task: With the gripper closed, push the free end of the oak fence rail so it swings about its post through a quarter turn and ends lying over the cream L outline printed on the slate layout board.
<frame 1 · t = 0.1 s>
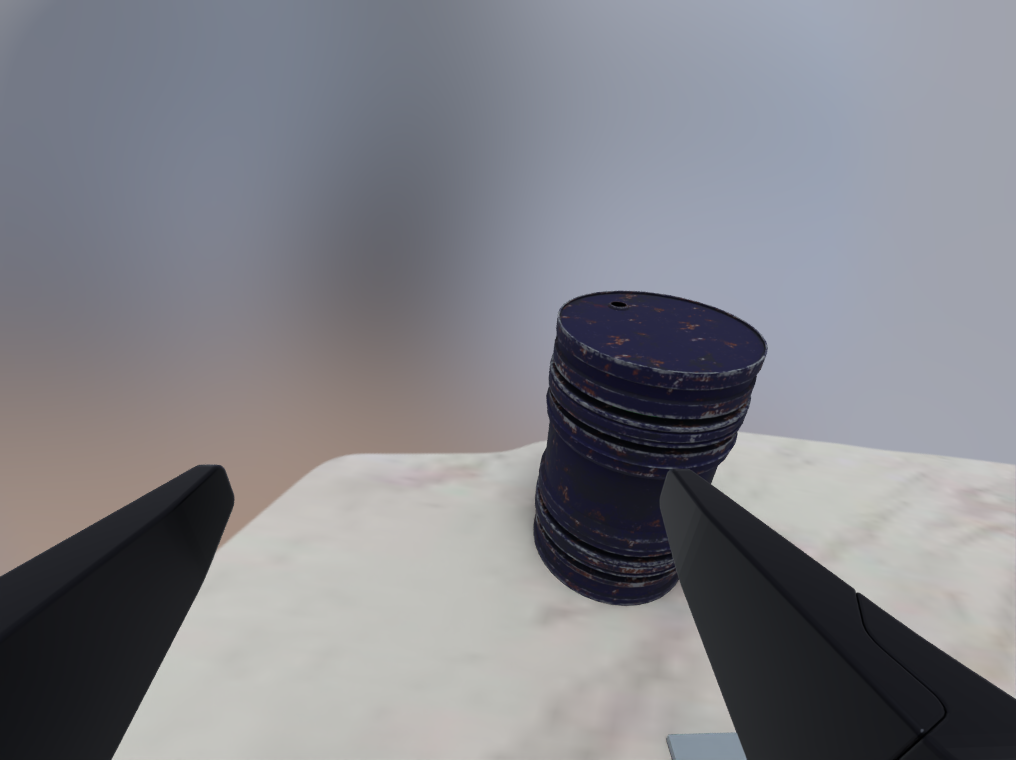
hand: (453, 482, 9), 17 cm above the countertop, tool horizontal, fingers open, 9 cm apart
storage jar: (606, 538, 29), on the countertop
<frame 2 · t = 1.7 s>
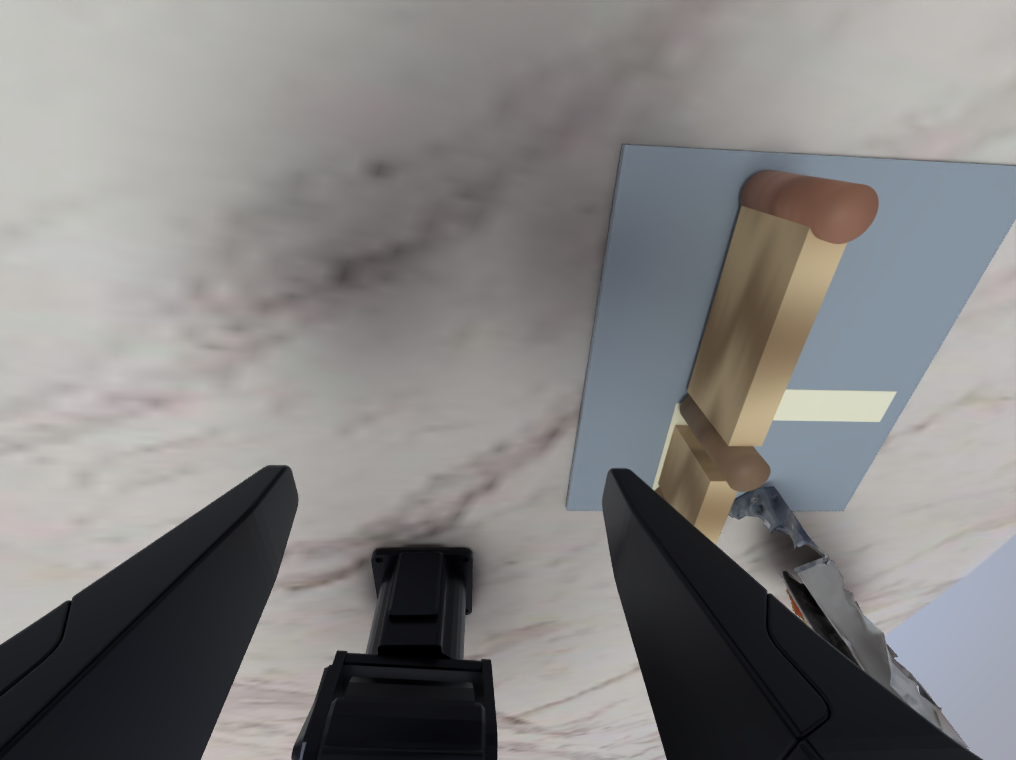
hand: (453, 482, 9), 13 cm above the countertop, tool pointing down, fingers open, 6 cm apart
layout board: (756, 368, 23), on the countertop
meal: (783, 550, 31), on the countertop, touching layout board
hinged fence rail: (755, 337, 19), point 3 cm above the countertop, hinge at 0.0°
fixed fence rail: (663, 504, 28), resting on layout board
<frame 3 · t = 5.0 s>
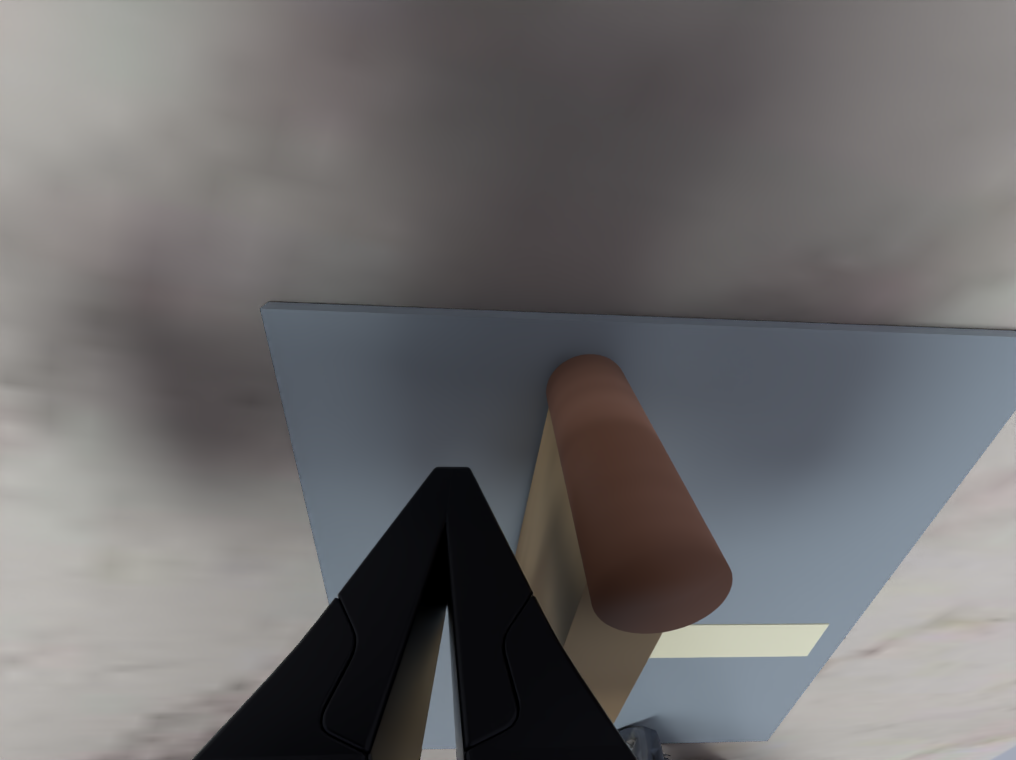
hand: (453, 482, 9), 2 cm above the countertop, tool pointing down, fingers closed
layout board: (606, 595, 15), on the countertop
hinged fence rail: (556, 644, 10), point 3 cm above the countertop, hinge at -5.0°, touching gripper
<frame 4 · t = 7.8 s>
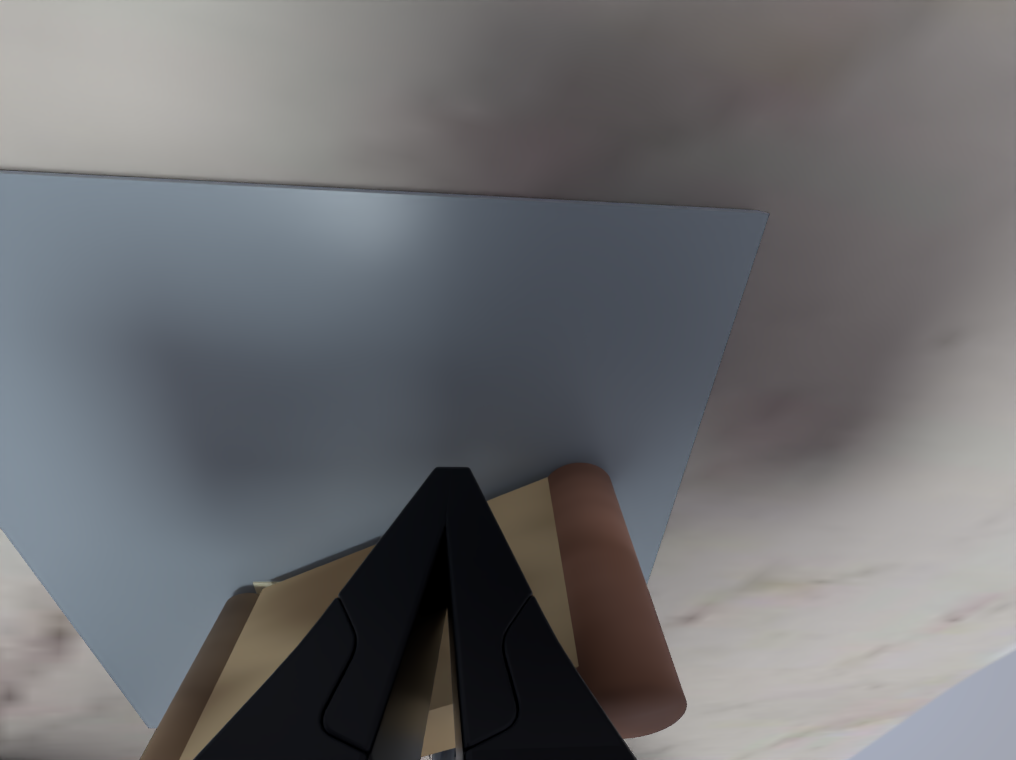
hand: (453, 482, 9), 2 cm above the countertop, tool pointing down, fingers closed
layout board: (355, 548, 13), on the countertop
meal: (538, 755, 21), on the countertop, touching layout board
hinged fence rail: (383, 655, 10), point 3 cm above the countertop, hinge at -60.6°, touching gripper
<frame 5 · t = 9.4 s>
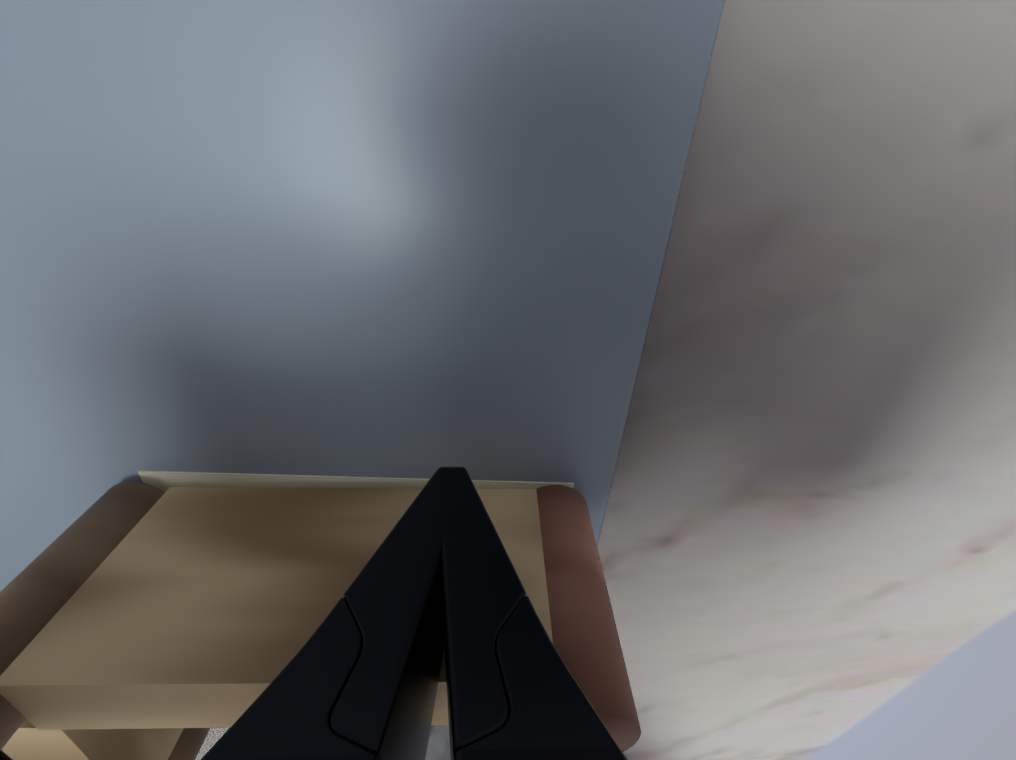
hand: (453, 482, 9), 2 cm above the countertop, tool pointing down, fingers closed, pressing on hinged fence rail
layout board: (260, 432, 11), on the countertop
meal: (500, 713, 18), on the countertop, touching layout board
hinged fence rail: (315, 607, 9), point 3 cm above the countertop, hinge at -88.4°, touching gripper
fixed fence rail: (226, 658, 15), resting on layout board
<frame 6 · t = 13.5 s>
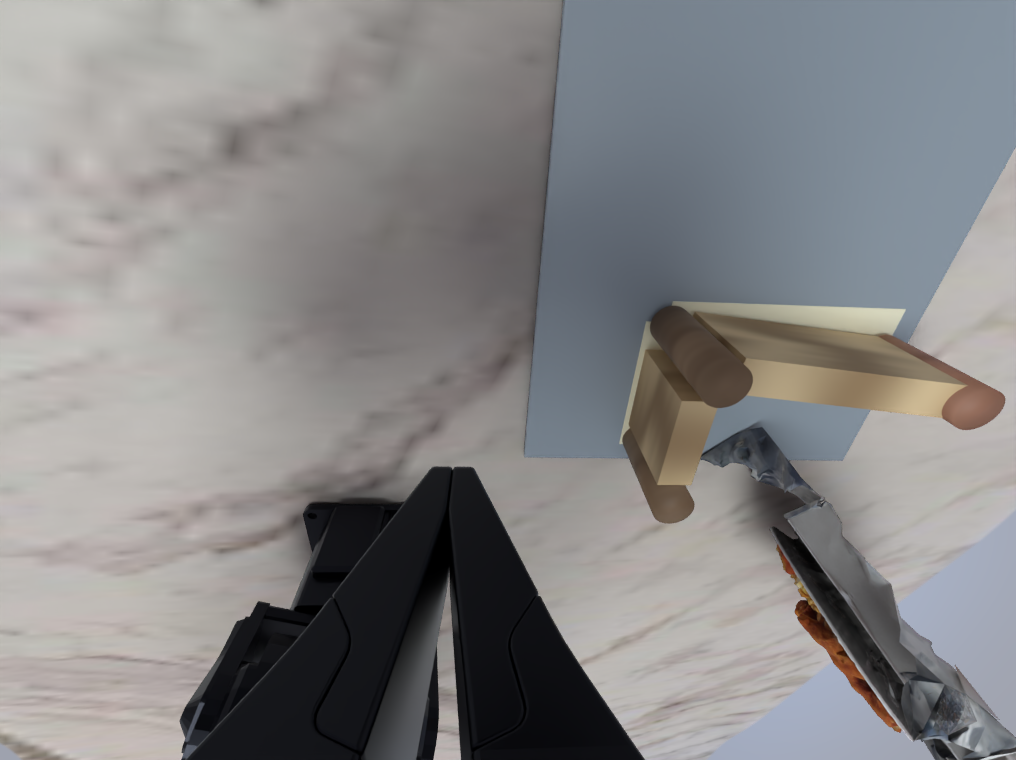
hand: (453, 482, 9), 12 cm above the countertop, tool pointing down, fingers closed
layout board: (740, 278, 20), on the countertop
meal: (774, 508, 27), on the countertop, touching layout board
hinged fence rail: (814, 366, 18), point 3 cm above the countertop, hinge at -95.9°
fixed fence rail: (635, 451, 24), resting on layout board
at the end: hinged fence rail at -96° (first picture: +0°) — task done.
